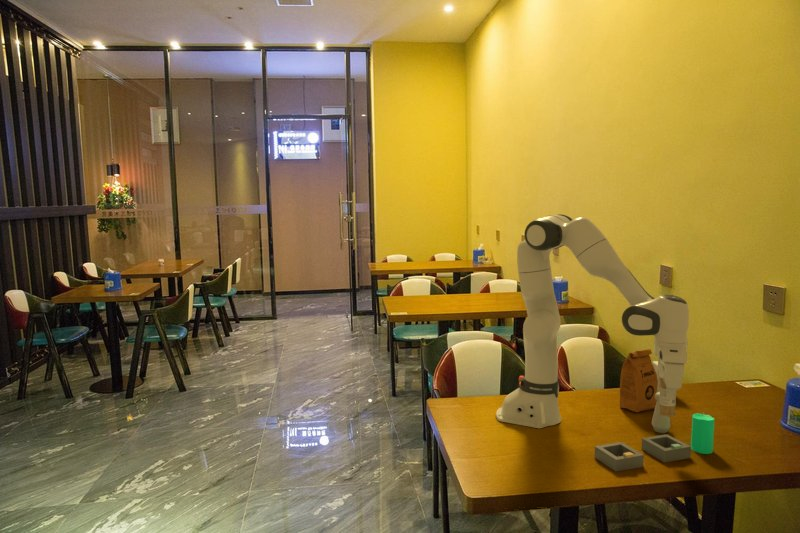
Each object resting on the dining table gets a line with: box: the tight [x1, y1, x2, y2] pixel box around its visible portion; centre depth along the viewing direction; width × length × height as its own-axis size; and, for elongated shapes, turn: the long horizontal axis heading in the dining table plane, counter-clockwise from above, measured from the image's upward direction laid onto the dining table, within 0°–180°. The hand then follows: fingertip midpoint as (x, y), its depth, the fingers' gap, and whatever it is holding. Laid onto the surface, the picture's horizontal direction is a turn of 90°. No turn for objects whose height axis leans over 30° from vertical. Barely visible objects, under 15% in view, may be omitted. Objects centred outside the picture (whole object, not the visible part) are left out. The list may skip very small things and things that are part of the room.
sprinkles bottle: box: [659, 370, 677, 418], centre depth 170 cm, size 5×5×14 cm
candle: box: [690, 411, 716, 455], centre depth 173 cm, size 6×6×12 cm
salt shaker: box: [651, 392, 671, 434], centre depth 188 cm, size 6×6×13 cm
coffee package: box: [619, 348, 658, 413], centre depth 208 cm, size 10×12×22 cm
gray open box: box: [594, 441, 645, 472], centre depth 166 cm, size 10×10×4 cm
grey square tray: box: [641, 433, 692, 463], centre depth 171 cm, size 10×10×4 cm
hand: (667, 394), depth 170 cm, fingers closed on sprinkles bottle, 4 cm apart
